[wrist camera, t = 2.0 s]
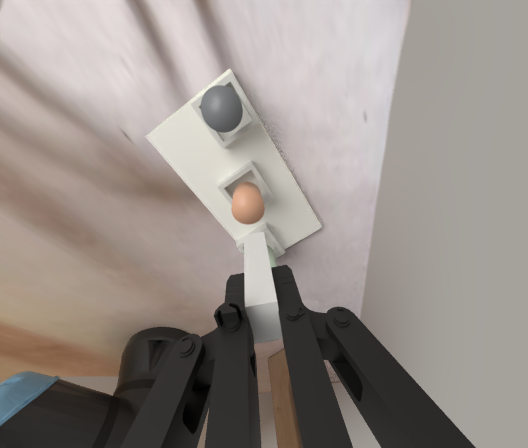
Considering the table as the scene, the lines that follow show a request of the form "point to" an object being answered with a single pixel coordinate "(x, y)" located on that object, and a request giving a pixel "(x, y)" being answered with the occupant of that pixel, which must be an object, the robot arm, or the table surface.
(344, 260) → the table surface
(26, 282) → the table surface
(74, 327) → the table surface
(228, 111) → the charcoal plunger
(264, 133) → the button board
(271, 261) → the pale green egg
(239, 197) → the terracotta plunger
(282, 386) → the wooden block
